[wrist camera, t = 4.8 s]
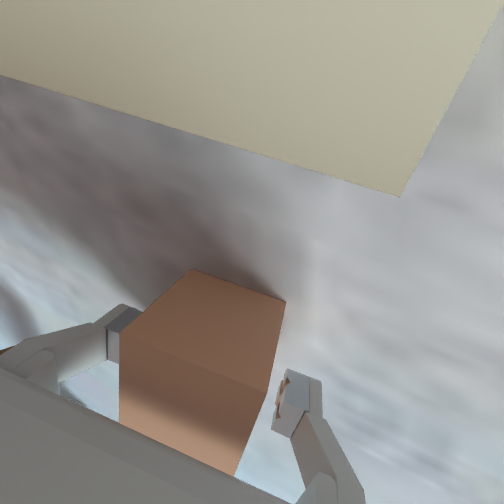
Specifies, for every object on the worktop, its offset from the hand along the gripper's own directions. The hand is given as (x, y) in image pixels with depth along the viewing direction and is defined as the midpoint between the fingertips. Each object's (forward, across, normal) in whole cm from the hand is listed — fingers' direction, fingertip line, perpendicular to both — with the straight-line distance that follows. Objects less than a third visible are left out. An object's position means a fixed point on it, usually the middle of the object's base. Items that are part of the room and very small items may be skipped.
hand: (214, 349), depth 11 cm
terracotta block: (+2, 0, 0) cm, 2 cm away
